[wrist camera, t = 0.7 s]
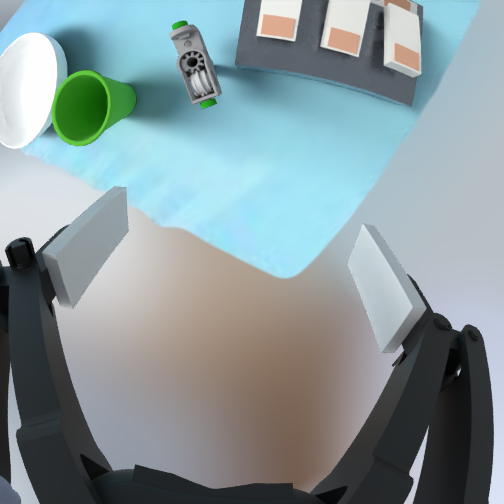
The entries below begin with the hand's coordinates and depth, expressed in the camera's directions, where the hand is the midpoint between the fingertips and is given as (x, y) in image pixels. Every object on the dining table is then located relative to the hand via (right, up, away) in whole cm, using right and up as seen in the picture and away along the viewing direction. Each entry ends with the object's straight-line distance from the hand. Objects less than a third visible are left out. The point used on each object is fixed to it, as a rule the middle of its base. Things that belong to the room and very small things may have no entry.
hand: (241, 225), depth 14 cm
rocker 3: (+17, +22, +5) cm, 29 cm away
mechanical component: (-5, +22, +15) cm, 27 cm away
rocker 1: (+4, +24, +4) cm, 25 cm away
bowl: (-35, +26, +14) cm, 46 cm away
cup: (-18, +20, +17) cm, 32 cm away
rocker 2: (+11, +23, +5) cm, 26 cm away
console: (+11, +27, +11) cm, 31 cm away
